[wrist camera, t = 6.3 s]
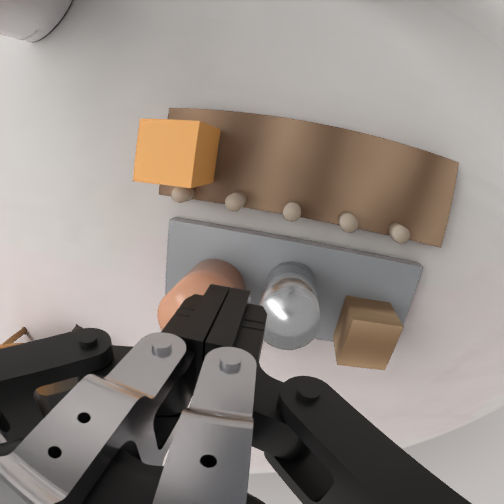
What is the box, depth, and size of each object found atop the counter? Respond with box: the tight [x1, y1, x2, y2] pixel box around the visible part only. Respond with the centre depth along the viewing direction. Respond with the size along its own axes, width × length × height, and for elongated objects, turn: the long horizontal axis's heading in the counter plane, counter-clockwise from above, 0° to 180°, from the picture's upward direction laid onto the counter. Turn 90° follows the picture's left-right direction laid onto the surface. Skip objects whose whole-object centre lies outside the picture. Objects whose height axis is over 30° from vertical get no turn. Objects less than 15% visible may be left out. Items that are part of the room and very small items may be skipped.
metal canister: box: [259, 261, 321, 350], centre depth 21 cm, size 4×4×6 cm
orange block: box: [133, 119, 221, 188], centre depth 19 cm, size 4×4×5 cm
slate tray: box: [165, 217, 423, 342], centre depth 24 cm, size 8×21×1 cm, turn 82°
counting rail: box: [159, 108, 459, 247], centre depth 20 cm, size 23×7×3 cm, turn 82°
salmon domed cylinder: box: [158, 259, 246, 330], centre depth 22 cm, size 5×5×6 cm
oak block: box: [333, 295, 403, 370], centre depth 22 cm, size 4×4×4 cm
